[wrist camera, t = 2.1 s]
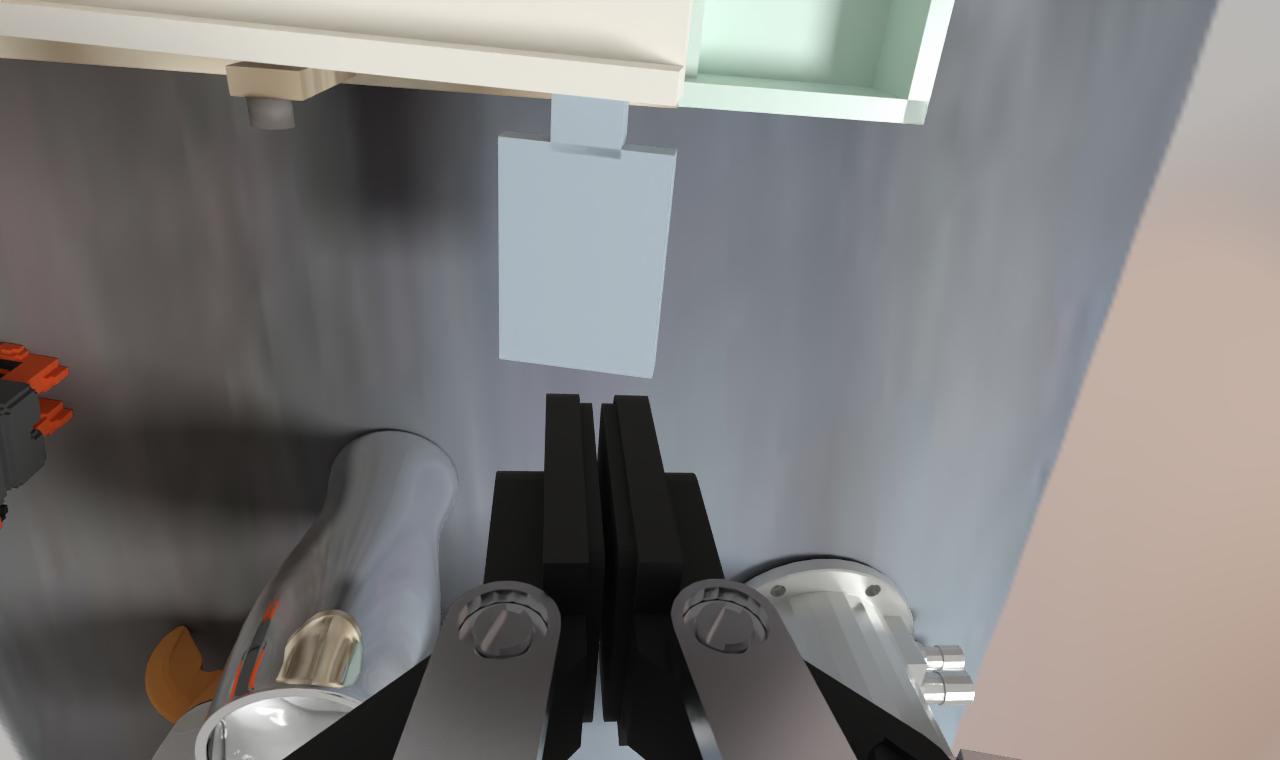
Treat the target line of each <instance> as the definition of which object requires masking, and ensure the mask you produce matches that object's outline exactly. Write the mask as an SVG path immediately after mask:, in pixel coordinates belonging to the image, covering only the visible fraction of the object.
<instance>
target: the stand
mask: <svg viewBox="0 0 1280 760" xmlns="http://www.w3.org/2000/svg"><path fill="white" fill-rule="evenodd" d="M0 58H11V59H25V60H38V61H51V62H65V63H78V64H91V65H105V66H118V67H132V68H145V69H158V70H172V71H185V72H198V73H212V74H225V75H227V80H228V86H229V92H230V96H243V97H246V99H247V106H248V112H249V119H250V125H251V127H254V128H259V129H271V130H279V129H290V128H293V127H295V121H294V113H293V105H292V100H299V101H303V100H306V99H308V98H310V97H312V96H314V95H316V94H318V93H320V92H322V91H325V90H327V89H329V88H331V87H333V86H335V85H337V84H339V83H345V84H359V85H372V86H385V87H399V88H412V89H425V90H439V91H452V92H466V93H479V94H492V95H506V96H519V97H532V98H546V99H552V93H544V92H534V91H525V90H515V89H506V88H496V87H487V86H478V85H468V84H459V83H449V82H440V81H430V80H421V79H411V78H402V77H392V76H383V75H373V74H364V73H354V72H345V71H335V70H326V69H316V68H307V67H297V66H288V65H278V64H269V63H259V62H250V61H240V60H231V59H221V58H212V57H202V56H193V55H183V54H174V53H164V52H155V51H145V50H136V49H126V48H117V47H108V46H98V45H89V44H79V43H70V42H60V41H51V40H41V39H32V38H22V37H13V36H3V35H0ZM629 105H639V106H653V107H666V108H678V106H677V105H676V106H667V105H658V104H648V103H639V102H629Z"/></svg>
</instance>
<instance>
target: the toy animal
mask: <svg viewBox="0 0 1280 760" xmlns="http://www.w3.org/2000/svg"><path fill="white" fill-rule="evenodd" d="M67 375H69V374H68V367H62V366H58V359H57V358H51V357H45V356H39V355H33V354H29V350H24V346H22V345H16V344H10V343H3V344H1V345H0V529H1V528H2V523H1V522H2V521H3V520H4V519H5V518H6V516H5V514H6V513H7V512H8V508H7V505H3V503H4V498H5V497H6V496H7V493H6V490H10V489H11V488H18V487H19V486H20V485H23V484H24V483H25V482H26V481H27V480H28V479H29V478H30V477H31V476H32V475H34V474H35V473H36V472H37V471H38V470H39V469H40V468H41V467H42V466H43V465H44V460H45V459H46V453H45V445H44V436H45V435H46V434H47V435H51V434H52V433H53V432H54V431H55V430H56V429H57V428H59V427H62V426H63V425H64V424H65V423H66V422H68V421H69V420H70V419H71V418H72V417H73V412H72V410H71V409H64V408H63V402H62V401H56V400H50V399H43V398H38V394H39V393H40V392H46V391H47V390H49V389H50V388H51V387H52V386H54V385H55V384H58V383H59V382H60V381H61V380H63V379H64V378H65V377H66V376H67Z"/></svg>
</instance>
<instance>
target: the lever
mask: <svg viewBox="0 0 1280 760" xmlns="http://www.w3.org/2000/svg"><path fill="white" fill-rule="evenodd" d="M692 3H693V0H0V35H3V36H13V37H22V38H32V39H41V40H51V41H60V42H70V43H79V44H89V45H98V46H108V47H117V48H126V49H136V50H145V51H155V52H164V53H174V54H183V55H193V56H202V57H212V58H221V59H231V60H240V61H250V62H259V63H269V64H278V65H288V66H297V67H307V68H316V69H326V70H335V71H345V72H354V73H364V74H373V75H383V76H392V77H402V78H411V79H421V80H430V81H440V82H449V83H459V84H468V85H478V86H487V87H496V88H506V89H515V90H525V91H534V92H544V93H552V104H551V135H543V134H533V133H524V132H515V131H507V132H505V133H503V134H502V135H500V136H498V187H499V359H506V360H513V361H521V362H528V363H536V364H544V365H551V366H559V367H567V368H574V369H582V370H590V371H597V372H605V373H612V374H620V375H628V376H635V377H643V378H651V379H652V375H653V371H654V366H655V358H656V349H657V339H658V329H659V320H660V310H661V301H662V291H663V281H664V272H665V262H666V253H667V243H668V233H669V224H670V214H671V205H672V195H673V185H674V176H675V166H676V156H677V149H671V148H661V147H652V146H643V145H634V144H626V136H627V122H628V108H629V102H639V103H648V104H658V105H667V106H676V105H677V103H678V102H679V100H680V98H681V97H682V95H683V89H684V80H685V70H686V60H687V51H688V41H689V31H690V22H691V12H692Z"/></svg>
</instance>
